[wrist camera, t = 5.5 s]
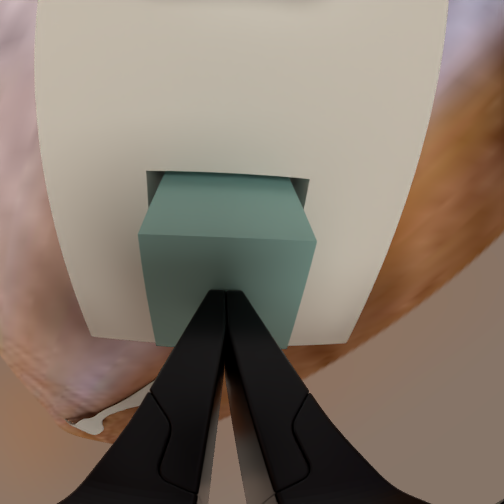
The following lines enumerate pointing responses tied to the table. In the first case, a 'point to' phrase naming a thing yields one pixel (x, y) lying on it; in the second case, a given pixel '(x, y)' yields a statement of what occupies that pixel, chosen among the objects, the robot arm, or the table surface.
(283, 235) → the teal green cube
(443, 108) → the table surface
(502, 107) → the table surface
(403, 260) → the table surface
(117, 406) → the fork
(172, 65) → the white socket board
